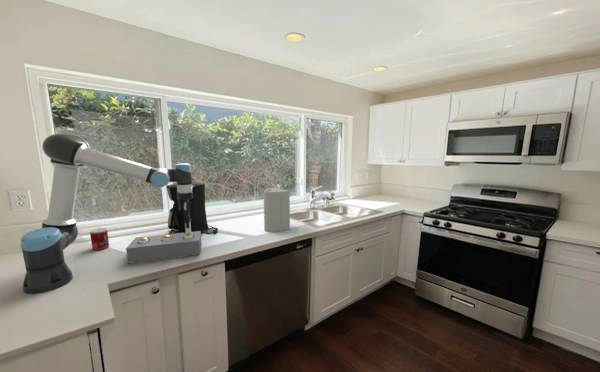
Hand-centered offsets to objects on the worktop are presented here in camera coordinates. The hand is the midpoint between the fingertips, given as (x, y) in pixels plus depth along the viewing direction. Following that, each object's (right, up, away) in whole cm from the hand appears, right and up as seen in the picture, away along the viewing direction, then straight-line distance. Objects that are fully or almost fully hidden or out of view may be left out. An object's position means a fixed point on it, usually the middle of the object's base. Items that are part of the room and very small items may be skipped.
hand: (188, 232), depth 141 cm
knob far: (0, -8, +1) cm, 8 cm away
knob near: (-21, -9, -6) cm, 24 cm away
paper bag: (+44, -4, +37) cm, 58 cm away
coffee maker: (-12, -6, +30) cm, 33 cm away
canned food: (-53, -10, +4) cm, 54 cm away
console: (-11, -11, -2) cm, 15 cm away
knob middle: (-11, -8, -2) cm, 14 cm away
